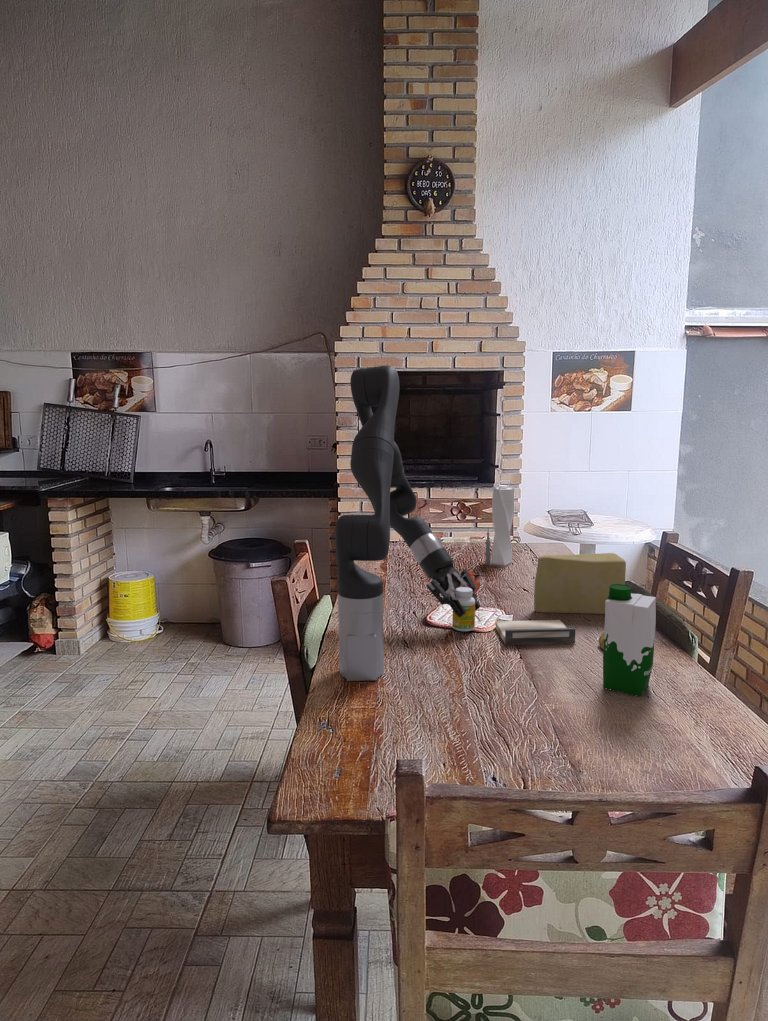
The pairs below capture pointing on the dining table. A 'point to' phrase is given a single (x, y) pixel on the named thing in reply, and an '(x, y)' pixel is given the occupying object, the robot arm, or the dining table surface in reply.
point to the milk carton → (628, 640)
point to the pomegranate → (474, 580)
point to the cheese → (576, 582)
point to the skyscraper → (501, 526)
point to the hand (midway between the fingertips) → (469, 611)
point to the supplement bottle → (468, 604)
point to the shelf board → (535, 632)
